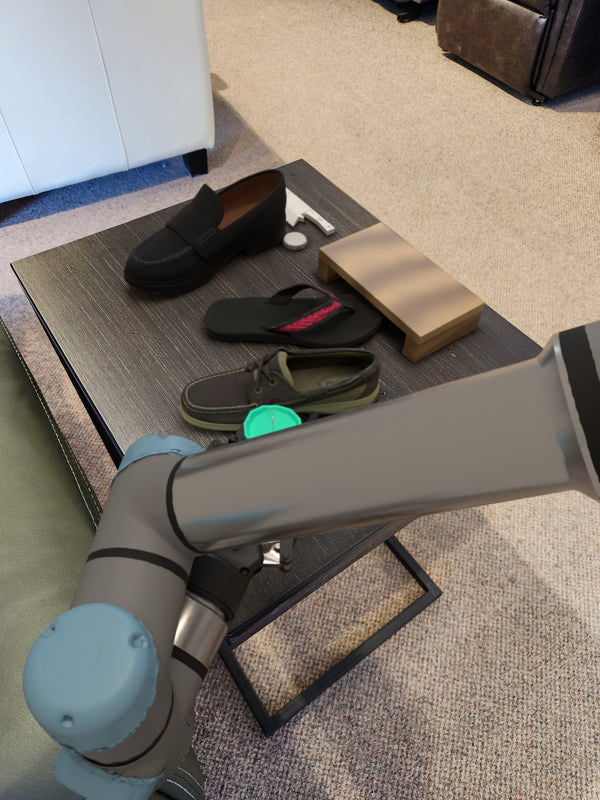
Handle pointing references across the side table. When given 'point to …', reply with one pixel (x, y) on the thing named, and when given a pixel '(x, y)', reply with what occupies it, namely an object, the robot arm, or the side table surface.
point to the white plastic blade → (304, 213)
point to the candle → (269, 420)
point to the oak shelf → (403, 287)
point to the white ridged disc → (294, 240)
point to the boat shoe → (284, 386)
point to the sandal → (295, 318)
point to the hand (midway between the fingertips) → (292, 412)
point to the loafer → (210, 234)
